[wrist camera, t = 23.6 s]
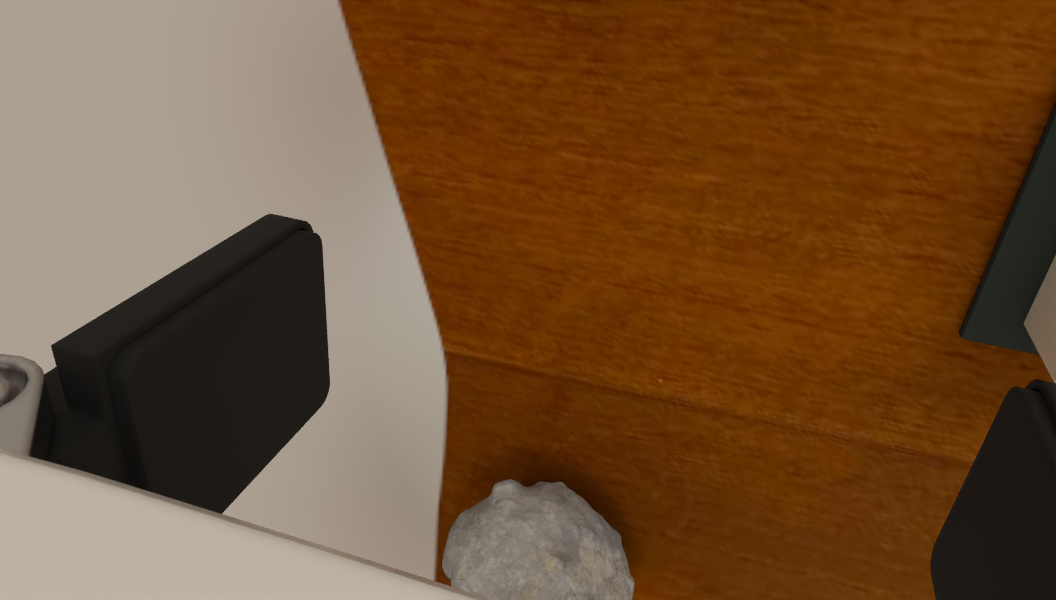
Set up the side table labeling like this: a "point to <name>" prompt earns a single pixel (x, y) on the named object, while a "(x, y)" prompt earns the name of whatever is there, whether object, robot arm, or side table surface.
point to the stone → (536, 547)
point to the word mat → (1019, 257)
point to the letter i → (1045, 321)
